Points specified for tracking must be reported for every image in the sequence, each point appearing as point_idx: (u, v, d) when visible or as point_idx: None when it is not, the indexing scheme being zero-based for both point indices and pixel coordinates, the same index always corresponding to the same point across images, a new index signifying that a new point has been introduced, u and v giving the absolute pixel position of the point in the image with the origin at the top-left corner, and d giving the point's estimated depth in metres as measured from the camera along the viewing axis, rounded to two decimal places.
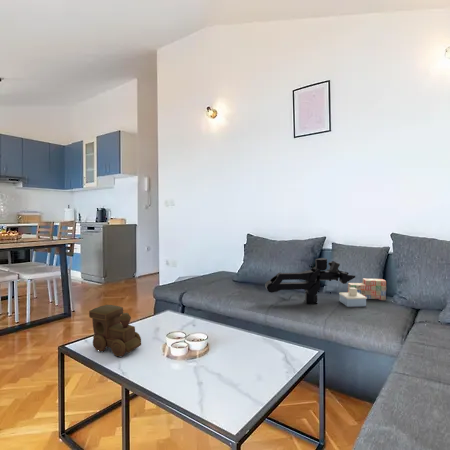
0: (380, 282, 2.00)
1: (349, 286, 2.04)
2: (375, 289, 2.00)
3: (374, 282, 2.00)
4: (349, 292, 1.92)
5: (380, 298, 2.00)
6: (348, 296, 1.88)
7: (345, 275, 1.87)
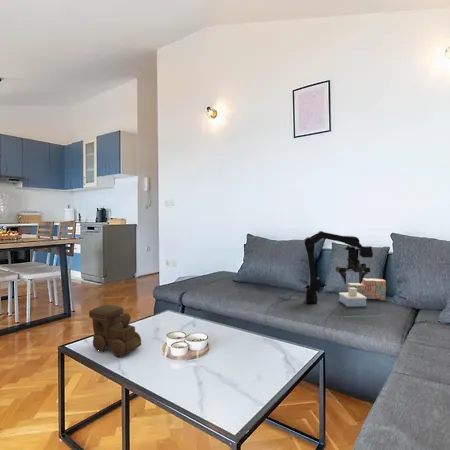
0: (380, 282, 2.00)
1: (349, 286, 2.04)
2: (374, 289, 2.00)
3: (374, 282, 2.00)
4: (349, 292, 1.92)
5: (380, 298, 2.00)
6: (348, 296, 1.88)
7: (338, 271, 1.88)
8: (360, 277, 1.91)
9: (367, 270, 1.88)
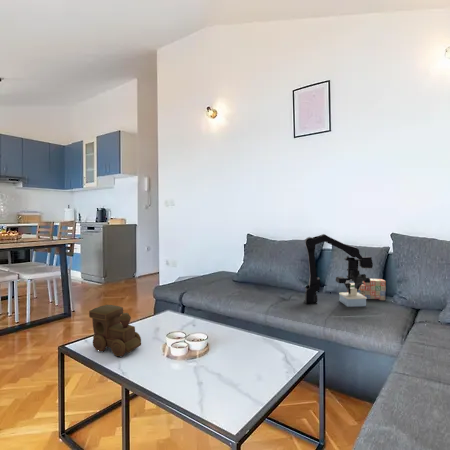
0: (379, 282, 2.00)
1: None
2: (374, 289, 2.00)
3: (373, 282, 2.00)
4: None
5: (379, 298, 2.00)
6: (348, 296, 1.88)
7: (338, 281, 1.89)
8: (356, 287, 1.91)
9: (367, 281, 1.88)
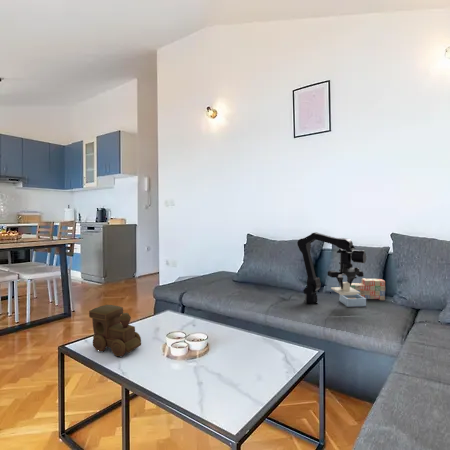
0: (379, 282, 2.00)
1: None
2: (374, 289, 2.00)
3: (373, 282, 2.00)
4: None
5: (379, 298, 2.00)
6: (341, 291, 1.79)
7: (330, 275, 1.79)
8: (348, 282, 1.82)
9: (360, 274, 1.79)
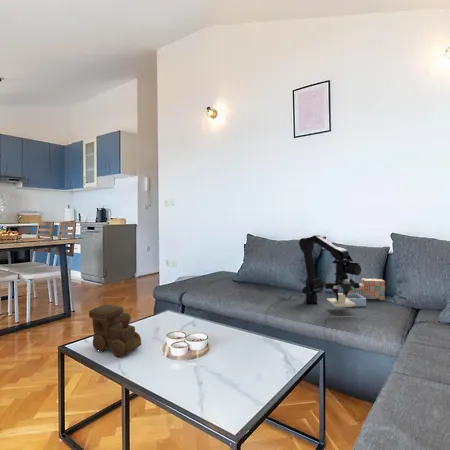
0: (379, 282, 2.00)
1: None
2: (374, 289, 2.00)
3: (373, 282, 2.00)
4: None
5: (379, 298, 2.00)
6: (336, 302, 1.75)
7: (325, 287, 1.75)
8: (344, 293, 1.78)
9: (356, 286, 1.75)
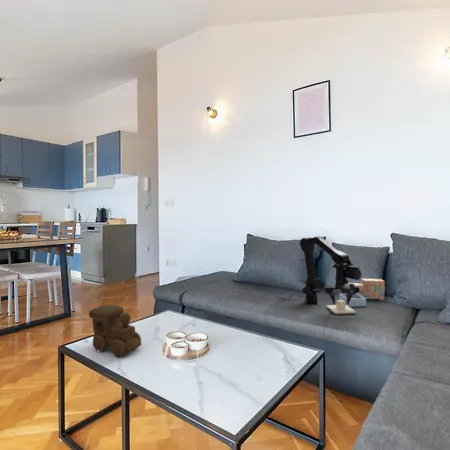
0: (379, 282, 2.00)
1: None
2: (373, 289, 2.00)
3: (373, 282, 2.00)
4: (337, 305, 1.79)
5: (379, 298, 2.00)
6: (336, 310, 1.75)
7: (325, 291, 1.75)
8: (347, 297, 1.78)
9: (356, 290, 1.75)
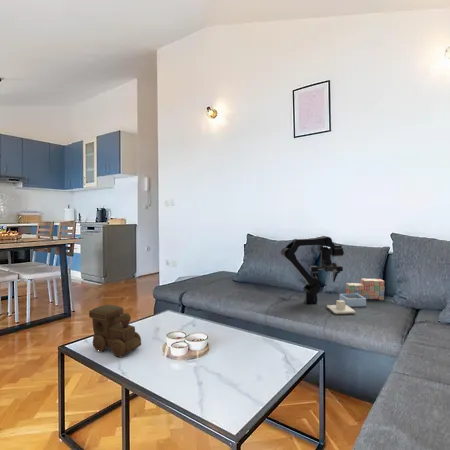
0: (378, 282, 2.00)
1: (347, 286, 2.04)
2: (373, 289, 2.00)
3: (372, 282, 2.00)
4: (337, 305, 1.79)
5: (378, 298, 2.00)
6: (336, 310, 1.75)
7: (311, 270, 1.95)
8: (333, 276, 1.96)
9: (339, 269, 1.93)
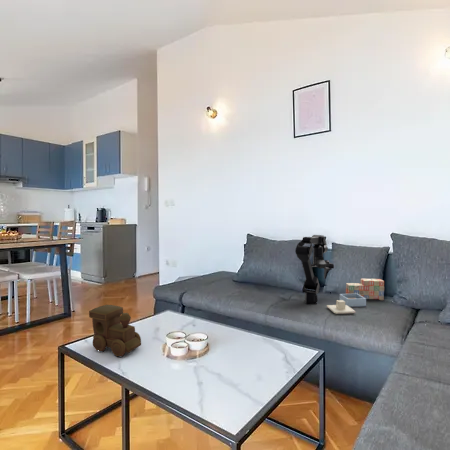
0: (378, 282, 2.00)
1: (347, 286, 2.04)
2: (373, 289, 2.00)
3: (372, 282, 2.00)
4: (337, 305, 1.79)
5: (378, 298, 2.00)
6: (336, 310, 1.75)
7: None
8: (325, 273, 2.06)
9: (331, 266, 2.02)
